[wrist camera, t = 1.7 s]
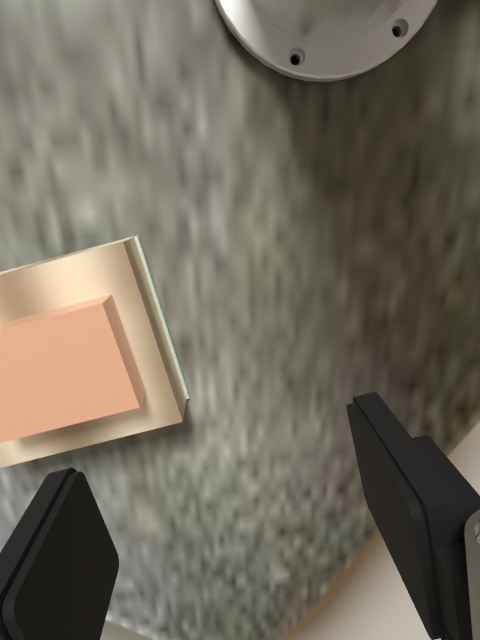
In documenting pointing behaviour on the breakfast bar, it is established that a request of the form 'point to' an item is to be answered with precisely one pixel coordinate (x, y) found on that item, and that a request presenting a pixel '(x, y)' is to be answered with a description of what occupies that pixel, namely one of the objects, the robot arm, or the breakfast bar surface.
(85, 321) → the tile
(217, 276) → the breakfast bar surface
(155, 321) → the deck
